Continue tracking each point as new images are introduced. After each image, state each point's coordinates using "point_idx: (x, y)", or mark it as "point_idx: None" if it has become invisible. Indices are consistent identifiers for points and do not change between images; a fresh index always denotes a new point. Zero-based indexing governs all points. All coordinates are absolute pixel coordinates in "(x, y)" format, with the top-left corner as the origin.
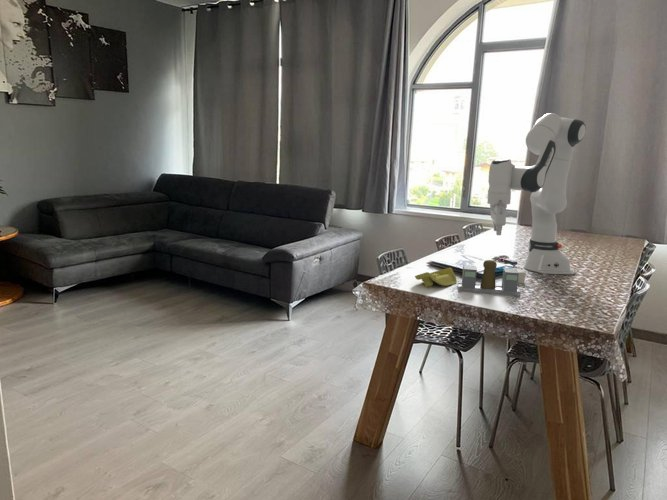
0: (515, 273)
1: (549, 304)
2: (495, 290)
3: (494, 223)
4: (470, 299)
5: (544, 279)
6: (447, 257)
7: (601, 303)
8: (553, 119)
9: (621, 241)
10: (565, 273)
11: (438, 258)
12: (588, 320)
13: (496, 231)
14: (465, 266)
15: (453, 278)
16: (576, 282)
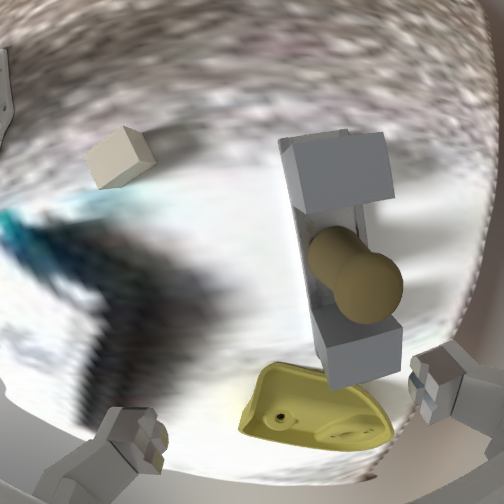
0: (384, 148)
1: (379, 50)
2: (364, 223)
3: (107, 494)
4: (435, 286)
5: (65, 87)
6: (21, 388)
7: None
8: None
9: None
10: (6, 62)
11: (44, 408)
12: (442, 3)
13: (444, 409)
14: (357, 378)
15: (267, 379)
16: (71, 12)
